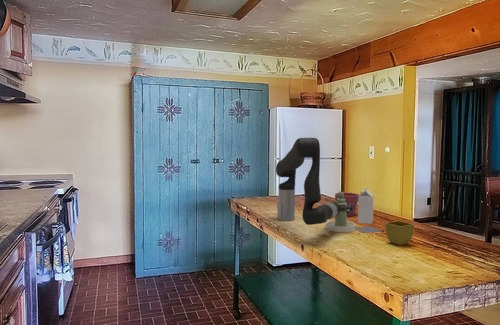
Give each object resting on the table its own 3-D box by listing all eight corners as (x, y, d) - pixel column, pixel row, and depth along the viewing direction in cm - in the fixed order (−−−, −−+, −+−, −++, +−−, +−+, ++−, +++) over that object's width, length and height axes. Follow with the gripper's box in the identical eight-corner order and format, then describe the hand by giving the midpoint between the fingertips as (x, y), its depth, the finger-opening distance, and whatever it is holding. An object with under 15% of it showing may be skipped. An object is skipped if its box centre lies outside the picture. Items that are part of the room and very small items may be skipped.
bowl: (334, 233, 182) (334, 227, 182) (321, 227, 196) (321, 221, 196) (361, 231, 186) (361, 225, 186) (346, 225, 200) (346, 219, 200)
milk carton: (372, 222, 209) (373, 187, 208) (371, 224, 202) (372, 189, 201) (359, 220, 212) (360, 187, 211) (357, 223, 205) (358, 188, 204)
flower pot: (399, 247, 159) (400, 226, 159) (383, 242, 167) (384, 222, 167) (414, 244, 163) (414, 224, 163) (397, 240, 171) (398, 220, 171)
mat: (363, 233, 183) (363, 232, 183) (351, 228, 193) (351, 227, 193) (383, 232, 186) (383, 231, 186) (370, 227, 196) (370, 226, 196)
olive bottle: (338, 229, 188) (338, 192, 186) (332, 226, 193) (333, 191, 192) (348, 228, 189) (349, 192, 188) (342, 226, 194) (343, 190, 193)
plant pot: (356, 212, 235) (357, 192, 234) (361, 217, 221) (361, 195, 220) (333, 212, 236) (333, 192, 236) (336, 216, 222) (336, 195, 222)
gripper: (344, 204, 174) (356, 199, 188) (316, 201, 182) (329, 197, 196) (344, 220, 175) (356, 214, 188) (315, 216, 183) (329, 211, 196)
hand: (342, 205), depth 192 cm, fingers open, 8 cm apart
